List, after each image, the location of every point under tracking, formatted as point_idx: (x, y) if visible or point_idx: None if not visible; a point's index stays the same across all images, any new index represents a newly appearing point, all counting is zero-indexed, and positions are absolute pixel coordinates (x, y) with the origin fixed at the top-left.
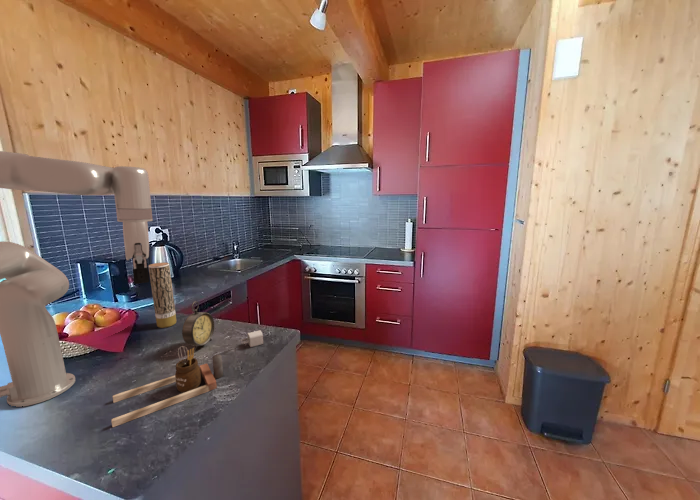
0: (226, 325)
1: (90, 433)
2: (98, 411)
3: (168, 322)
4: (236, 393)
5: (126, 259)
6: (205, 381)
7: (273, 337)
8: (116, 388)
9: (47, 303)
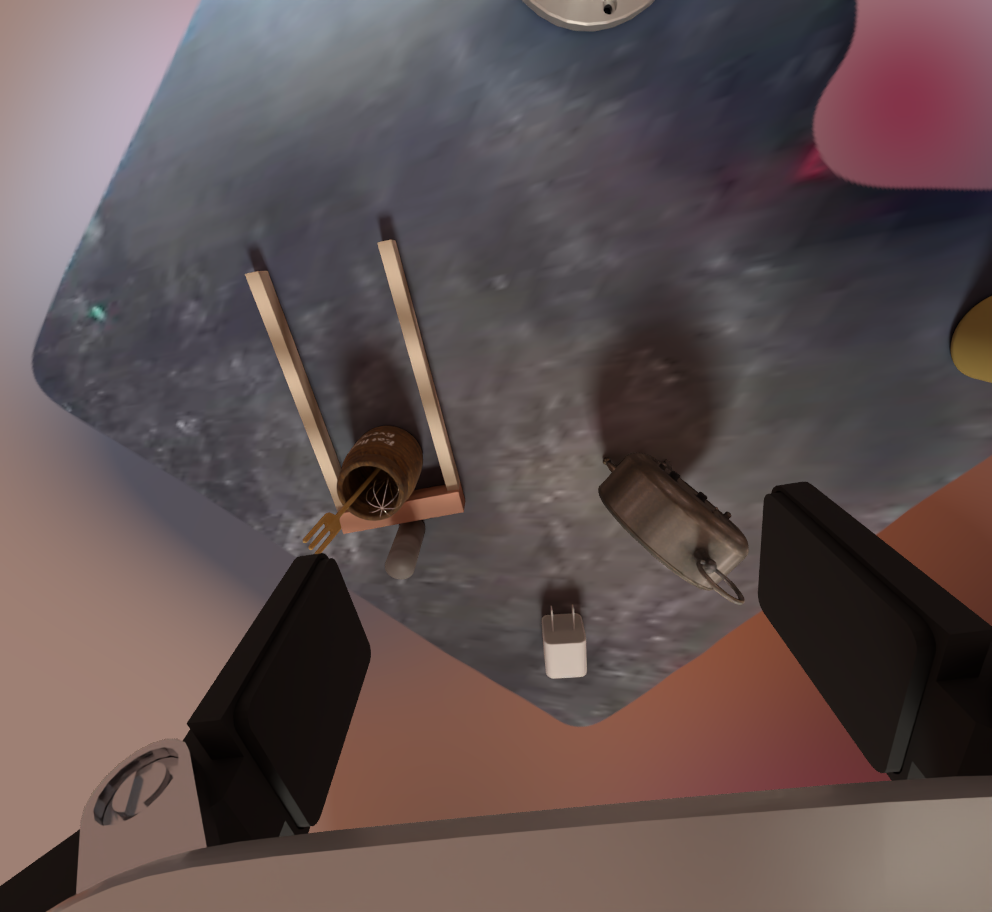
0: None
1: (246, 215)
2: (351, 205)
3: (968, 352)
4: None
5: (92, 890)
6: None
7: None
8: (473, 229)
9: None
